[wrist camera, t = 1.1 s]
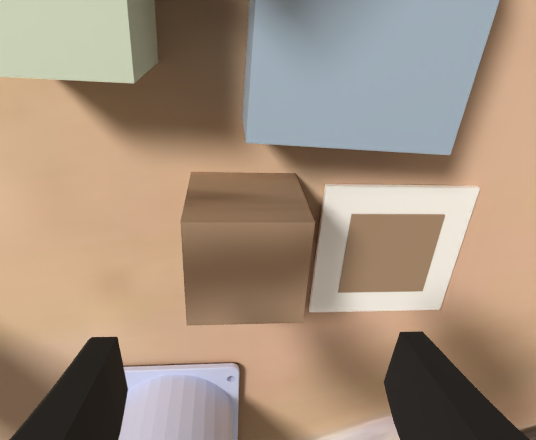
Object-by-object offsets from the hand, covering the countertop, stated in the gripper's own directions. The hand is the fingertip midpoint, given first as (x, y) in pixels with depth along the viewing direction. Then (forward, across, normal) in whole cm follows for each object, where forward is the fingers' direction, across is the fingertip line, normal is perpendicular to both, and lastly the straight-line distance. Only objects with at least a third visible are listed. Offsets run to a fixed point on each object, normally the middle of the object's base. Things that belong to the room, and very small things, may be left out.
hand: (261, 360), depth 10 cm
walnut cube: (+10, 0, +2) cm, 11 cm away
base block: (+11, -4, -7) cm, 14 cm away
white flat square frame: (+10, -8, +4) cm, 14 cm away
